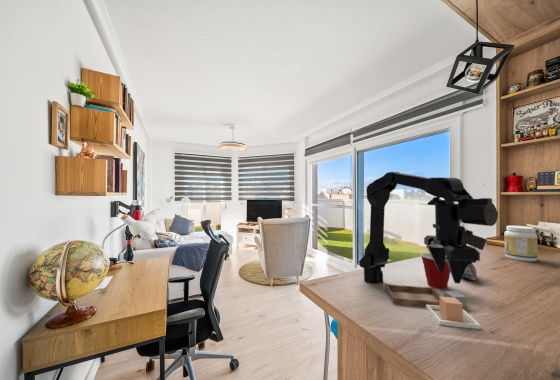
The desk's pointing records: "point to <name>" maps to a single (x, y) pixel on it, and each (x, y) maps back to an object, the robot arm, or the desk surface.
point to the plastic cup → (435, 272)
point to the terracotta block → (451, 309)
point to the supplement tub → (521, 243)
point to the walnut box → (412, 295)
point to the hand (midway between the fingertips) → (448, 276)
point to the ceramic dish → (453, 323)
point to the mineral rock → (470, 272)
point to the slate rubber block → (456, 296)
